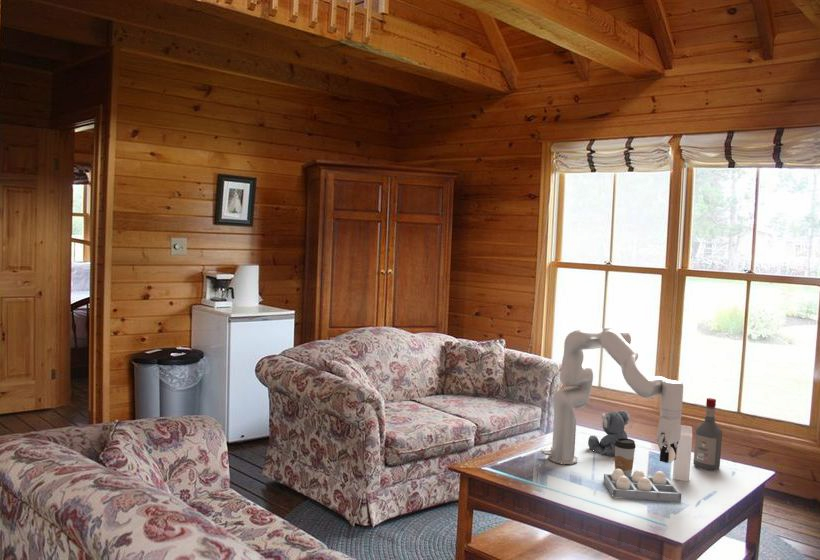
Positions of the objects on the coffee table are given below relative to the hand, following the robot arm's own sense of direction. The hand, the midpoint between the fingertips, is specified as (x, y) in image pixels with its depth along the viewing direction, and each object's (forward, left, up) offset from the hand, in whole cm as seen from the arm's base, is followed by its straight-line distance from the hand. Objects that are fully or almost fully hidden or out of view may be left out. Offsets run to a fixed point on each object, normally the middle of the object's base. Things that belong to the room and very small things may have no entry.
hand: (667, 459), depth 264 cm
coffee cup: (-11, +20, -15) cm, 27 cm away
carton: (-8, +4, -14) cm, 17 cm away
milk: (+13, +22, -15) cm, 29 cm away
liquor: (+29, +38, -15) cm, 50 cm away
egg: (0, 0, -1) cm, 1 cm away
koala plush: (-8, +51, -15) cm, 54 cm away
